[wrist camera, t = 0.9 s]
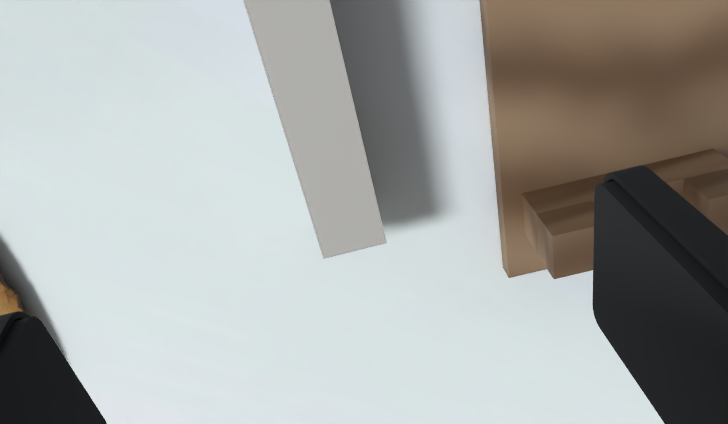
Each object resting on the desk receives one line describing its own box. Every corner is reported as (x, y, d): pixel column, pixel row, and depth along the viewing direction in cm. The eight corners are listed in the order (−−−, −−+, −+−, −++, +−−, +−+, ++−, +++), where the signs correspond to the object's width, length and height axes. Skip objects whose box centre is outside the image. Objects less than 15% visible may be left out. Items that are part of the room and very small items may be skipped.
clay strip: (173, -266, 21) (154, -289, 17) (258, -287, 21) (255, -315, 17) (318, 214, 31) (323, 258, 28) (374, 200, 31) (386, 242, 28)
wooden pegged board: (462, -192, 22) (506, -203, 18) (773, -264, 23) (889, -291, 18) (503, 267, 34) (535, 326, 30) (708, 219, 34) (770, 271, 30)
